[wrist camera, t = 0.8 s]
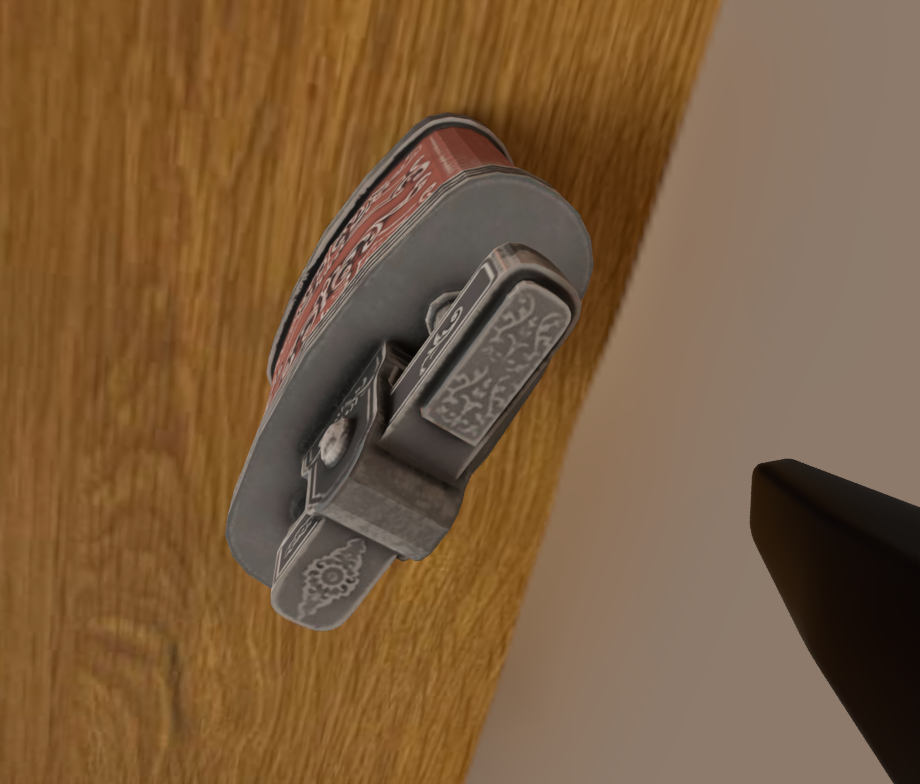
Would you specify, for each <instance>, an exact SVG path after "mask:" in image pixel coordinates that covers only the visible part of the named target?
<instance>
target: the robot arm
mask: <svg viewBox="0 0 920 784" xmlns="http://www.w3.org/2000/svg"><path fill="white" fill-rule="evenodd" d="M750 529H751V533H752V537H753V540H754V542H755V544H756V547H757V549H758V551H759V553H760V554H761V556H762V559H763V561H764V563H765V565H766V567H767V569H768V571H769V573H770V575H771V577H772V579H773V581H774V583H775V585H776V587H777V589H778V591H779V593H780V595H781V597H782V599H783V601H784V603H785V605H786V607H787V609H788V611H789V613H790V615H791V617H792V619H793V621H794V623H795V625H796V627H797V629H798V631H799V633H800V635H801V637H802V639H803V641H804V642H805V645H806V646H807V648H808V650H809V652H810V654H811V655H812V657H813V659H814V660H815V662H816V664H817V665H818V667H819V668H820V670H821V672H822V673H823V675H824V676H825V678H826V679H827V681H828V682H829V684H830V686H831V687H832V689H833V690H834V692H835V693H836V695H837V696H838V698H839V700H840V701H841V703H842V704H843V706H844V707H845V709H846V710H847V712H848V713H849V715H850V717H851V718H852V720H853V721H854V723H855V724H856V726H857V727H858V729H859V731H860V732H861V734H862V735H863V737H864V738H865V740H866V741H867V743H868V745H869V746H870V748H871V749H872V751H873V752H874V754H875V755H876V757H877V758H878V760H879V761H880V763H881V765H882V766H883V768H884V769H885V771H886V773H887V774H888V776H889V777H890V779H891V780H892V782H893V783H894V784H920V507H917V506H915V505H912V504H910V503H907V502H904V501H902V500H899V499H896V498H894V497H891V496H888V495H886V494H883V493H881V492H878V491H875V490H873V489H870V488H867V487H865V486H862V485H859V484H857V483H854V482H851V481H849V480H846V479H844V478H841V477H838V476H835V475H833V474H830V473H828V472H825V471H822V470H820V469H817V468H814V467H812V466H809V465H807V464H804V463H801V462H799V461H796V460H793V459H782V460H777V461H771V462H766V463H760V464H758V465H757V466H756V467H755V468H754V471H753V474H752V486H751V507H750Z"/></svg>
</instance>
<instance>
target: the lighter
mask: <svg viewBox="0 0 920 784" xmlns="http://www.w3.org/2000/svg"><path fill="white" fill-rule="evenodd" d="M592 270H593V256H592V244H591V238H590V236H589V234H588V232H587V230H586V228H585V225H584V223H583V221H582V219H581V217H580V215H579V213H578V212H577V211H576V210H575V209H574V208H573V207H572V206H571V205H570V204H569V203H568V202H567V201H566V200H565V199H564V198H563V197H562V196H561V195H560V194H559V193H558V192H557V191H556V190H555V189H554V188H553V187H552V186H551V185H550V184H549V183H548V182H546V181H544V180H542V179H541V178H539V177H537V176H535V175H533V174H531V173H529V172H527V171H525V170H523V169H521V168H516V167H515V166H514V163H513V161H512V159H511V157H510V155H509V153H508V151H507V149H506V147H505V145H504V144H503V143H502V142H501V141H500V140H499V139H498V138H497V137H496V136H495V135H494V134H493V133H492V132H491V131H490V130H489V129H488V128H487V127H486V126H485V125H484V124H482V123H480V122H478V121H476V120H474V119H472V118H470V117H468V116H466V115H460V114H453V113H442V114H437V115H432V116H428V117H426V118H425V119H424V120H422V121H421V122H419V123H418V124H416V125H415V126H413V127H412V128H411V129H410V130H409V131H408V133H407V134H406V135H405V136H404V137H403V138H402V139H401V140H400V141H399V142H398V143H397V144H396V145H395V146H394V147H393V148H392V149H391V150H390V151H389V152H388V153H387V154H386V155H385V157H384V158H383V159H382V160H381V161H380V162H379V163H378V164H377V165H376V166H375V167H374V168H373V169H372V170H371V171H370V172H369V173H368V174H367V175H366V177H365V178H364V179H363V181H362V182H361V183H360V185H359V186H358V187H357V189H356V190H355V191H354V193H353V194H352V195H351V197H350V198H349V199H348V201H347V202H346V203H345V205H344V206H343V207H342V209H341V210H340V211H339V213H338V214H337V215H336V217H335V218H334V219H333V221H332V222H331V223H330V225H329V226H328V227H327V229H326V230H325V231H324V233H323V235H322V237H321V239H320V241H319V243H318V244H317V246H316V248H315V250H314V252H313V254H312V256H311V258H310V259H309V261H308V263H307V265H306V267H305V269H304V271H303V272H302V274H301V276H300V278H299V280H298V282H297V284H296V285H295V287H294V289H293V292H292V294H291V297H290V300H289V302H288V305H287V307H286V310H285V313H284V315H283V318H282V321H281V323H280V326H279V328H278V331H277V334H276V336H275V339H274V342H273V344H272V348H271V352H270V355H269V360H268V368H267V376H268V379H269V383H270V386H271V388H270V393H269V397H268V401H267V405H266V410H265V414H264V416H263V418H262V421H261V424H260V426H259V429H258V431H257V434H256V436H255V439H254V441H253V444H252V447H251V449H250V452H249V454H248V457H247V459H246V462H245V465H244V467H243V470H242V472H241V475H240V477H239V480H238V482H237V485H236V488H235V490H234V493H233V497H232V501H231V505H230V509H229V512H228V517H227V525H226V533H225V536H226V539H227V542H228V545H229V548H230V551H231V554H232V556H233V557H234V559H235V560H236V561H237V562H238V563H239V564H240V566H241V567H242V568H243V569H244V570H245V571H246V573H247V574H248V575H250V576H252V577H253V578H255V579H256V580H258V581H260V582H261V583H263V584H264V585H266V586H268V587H269V588H272V590H271V605H272V607H273V608H274V610H275V611H276V612H277V614H279V615H281V616H282V617H284V618H285V619H287V620H289V621H291V622H293V623H295V624H298V625H300V626H302V627H305V628H308V629H312V630H315V631H330V630H332V629H334V628H336V627H339V626H341V625H342V624H343V623H344V622H345V621H346V620H347V619H348V618H349V617H350V616H351V615H352V614H353V612H354V611H355V610H356V608H357V607H358V606H359V605H360V603H361V602H362V601H363V599H364V598H365V597H366V596H367V594H368V593H369V592H370V590H371V589H372V588H373V587H374V585H375V584H376V583H377V581H378V580H379V579H380V578H381V576H382V575H383V574H384V572H385V571H386V570H387V569H388V567H389V566H390V565H391V563H392V562H393V561H394V560H395V558H397V559H399V560H401V561H406V560H408V559H412V560H414V561H421V560H422V559H424V558H425V557H427V556H428V555H430V554H431V553H432V551H433V550H434V549H435V548H436V546H437V545H438V544H439V543H440V541H441V540H442V539H443V538H444V536H445V535H446V534H447V533H448V531H449V530H450V528H451V526H452V524H453V522H454V521H455V519H456V517H457V515H458V513H459V510H460V507H461V504H462V501H463V496H464V491H465V488H466V486H467V484H468V482H469V479H470V477H471V475H472V474H473V473H474V472H475V470H476V469H477V468H478V467H479V466H480V465H481V464H482V463H483V462H484V460H485V459H486V458H487V457H488V456H489V454H490V453H491V451H492V450H493V448H494V447H495V445H496V444H497V442H498V441H499V439H500V438H501V436H502V435H503V433H504V432H505V430H506V429H507V428H508V426H509V425H510V423H511V422H512V420H513V419H514V417H515V416H516V414H517V413H518V411H519V410H520V408H521V407H522V405H523V404H524V403H525V401H526V400H527V398H528V397H529V395H530V394H531V392H532V391H533V389H534V388H535V386H536V385H537V383H538V382H539V380H540V379H541V377H542V375H543V373H544V372H545V370H546V368H547V366H548V364H549V362H550V360H551V358H552V357H553V355H554V354H555V353H556V352H557V350H558V349H559V348H560V347H561V345H562V344H563V343H564V341H565V340H566V339H567V338H568V336H569V335H570V334H571V332H572V330H573V329H574V327H575V325H576V324H577V322H578V320H579V318H580V312H581V306H582V304H581V301H582V299H583V297H584V295H585V293H586V291H587V288H588V284H589V281H590V277H591V274H592Z"/></svg>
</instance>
